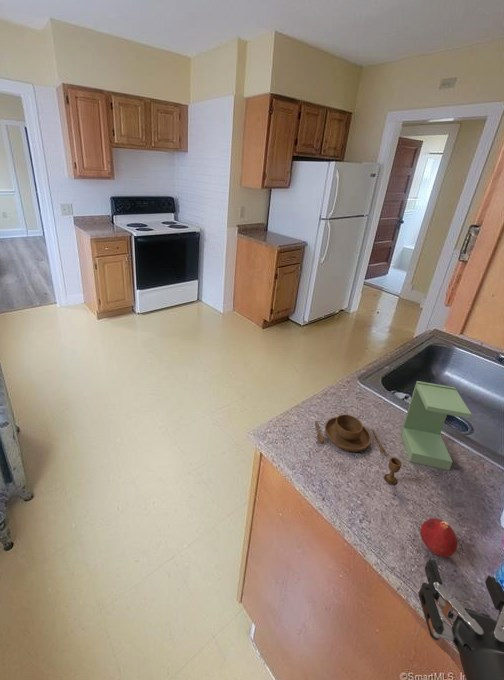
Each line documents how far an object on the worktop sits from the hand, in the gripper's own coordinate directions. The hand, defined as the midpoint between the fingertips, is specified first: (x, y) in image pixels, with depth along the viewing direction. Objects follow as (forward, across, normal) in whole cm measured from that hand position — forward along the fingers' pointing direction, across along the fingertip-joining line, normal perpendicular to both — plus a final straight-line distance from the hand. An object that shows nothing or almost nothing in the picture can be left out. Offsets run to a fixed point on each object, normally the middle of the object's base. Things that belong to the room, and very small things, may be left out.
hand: (459, 570), depth 54 cm
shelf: (+34, -5, +7) cm, 35 cm away
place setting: (+29, +13, +7) cm, 33 cm away
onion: (+8, 0, +7) cm, 11 cm away
